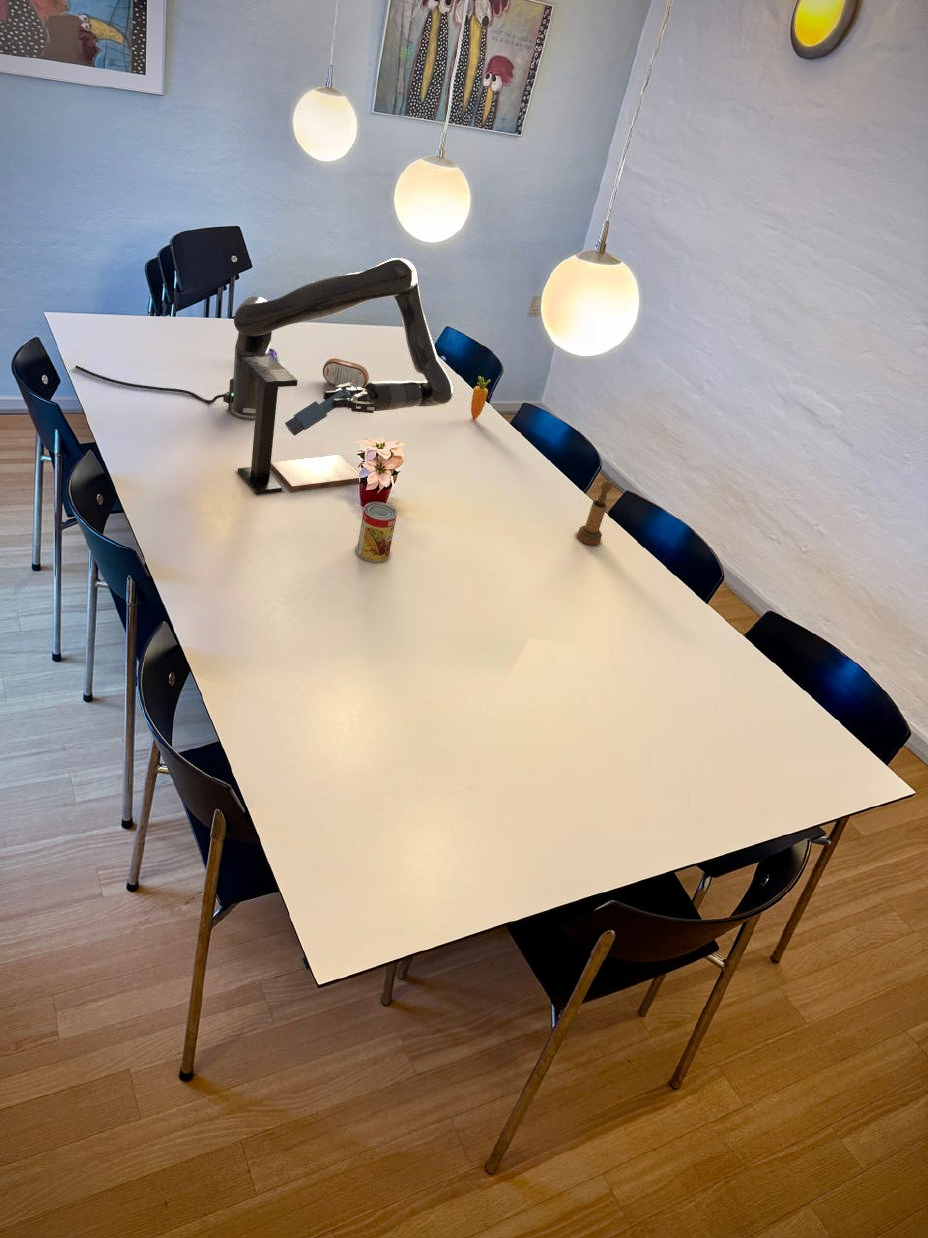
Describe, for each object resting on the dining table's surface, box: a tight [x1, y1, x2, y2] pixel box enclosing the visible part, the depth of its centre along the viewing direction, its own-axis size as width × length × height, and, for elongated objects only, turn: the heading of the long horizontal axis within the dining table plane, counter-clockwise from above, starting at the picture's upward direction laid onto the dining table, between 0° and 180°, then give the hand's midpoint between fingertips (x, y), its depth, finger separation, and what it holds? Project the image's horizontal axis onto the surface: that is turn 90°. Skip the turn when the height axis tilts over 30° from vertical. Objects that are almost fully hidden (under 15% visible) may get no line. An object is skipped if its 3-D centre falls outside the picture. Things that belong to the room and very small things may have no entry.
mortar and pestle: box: [576, 480, 613, 546], centre depth 238 cm, size 7×6×18 cm
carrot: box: [470, 375, 491, 421], centre depth 287 cm, size 5×5×15 cm
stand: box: [237, 356, 299, 496], centre depth 221 cm, size 8×14×31 cm, turn 36°
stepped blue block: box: [284, 389, 352, 437], centre depth 227 cm, size 18×4×3 cm
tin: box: [322, 358, 370, 388], centre depth 288 cm, size 15×3×8 cm, turn 84°
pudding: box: [268, 347, 286, 369], centre depth 289 cm, size 12×12×5 cm
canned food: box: [356, 501, 398, 563], centre depth 211 cm, size 8×8×12 cm
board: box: [270, 454, 360, 492], centre depth 239 cm, size 21×13×2 cm, turn 126°
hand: (328, 399), depth 227 cm, fingers closed on stepped blue block, 4 cm apart
